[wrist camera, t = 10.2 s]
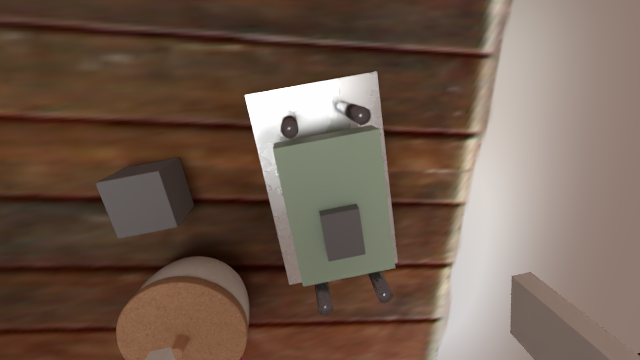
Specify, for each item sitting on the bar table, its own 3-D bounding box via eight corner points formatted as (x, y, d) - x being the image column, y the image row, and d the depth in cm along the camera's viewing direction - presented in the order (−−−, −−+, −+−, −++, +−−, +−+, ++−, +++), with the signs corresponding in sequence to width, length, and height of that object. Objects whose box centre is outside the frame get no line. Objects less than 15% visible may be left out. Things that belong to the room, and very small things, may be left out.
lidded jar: (171, 223, 32) (125, 277, 23) (271, 258, 34) (264, 319, 25) (140, 308, 34) (87, 387, 25) (235, 336, 36) (218, 417, 27)
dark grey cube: (144, 215, 31) (118, 238, 27) (126, 167, 30) (95, 182, 25) (194, 205, 32) (177, 227, 27) (179, 157, 30) (158, 171, 25)
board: (301, 270, 29) (303, 294, 26) (274, 142, 25) (271, 151, 22) (386, 253, 29) (399, 274, 26) (371, 124, 26) (383, 131, 22)
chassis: (289, 279, 35) (289, 342, 26) (246, 94, 29) (228, 99, 20) (394, 257, 35) (428, 313, 27) (374, 71, 29) (409, 66, 21)
